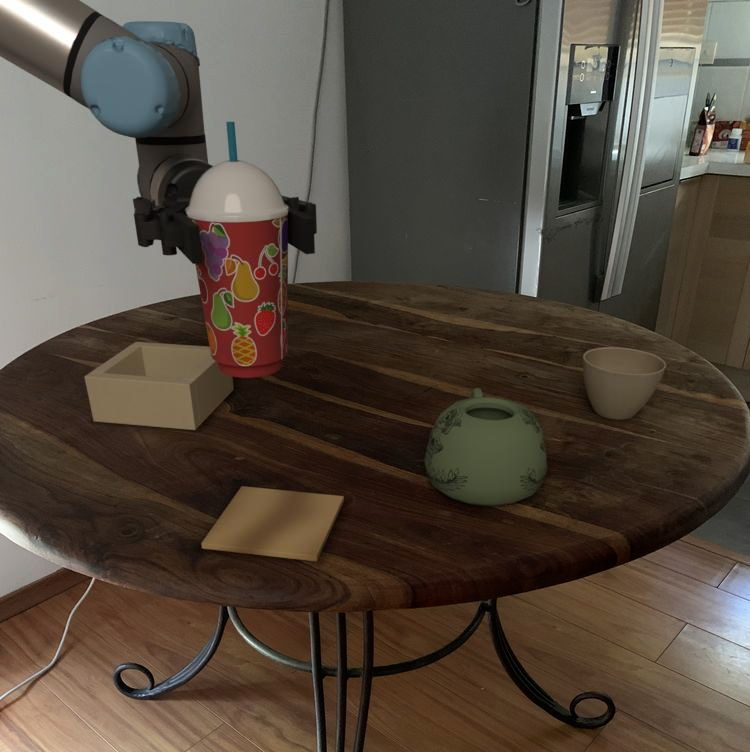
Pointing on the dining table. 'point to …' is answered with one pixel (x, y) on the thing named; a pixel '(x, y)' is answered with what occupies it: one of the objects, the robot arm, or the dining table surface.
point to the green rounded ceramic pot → (486, 452)
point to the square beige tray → (158, 386)
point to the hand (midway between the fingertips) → (254, 240)
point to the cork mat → (275, 523)
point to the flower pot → (620, 380)
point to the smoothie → (242, 265)
